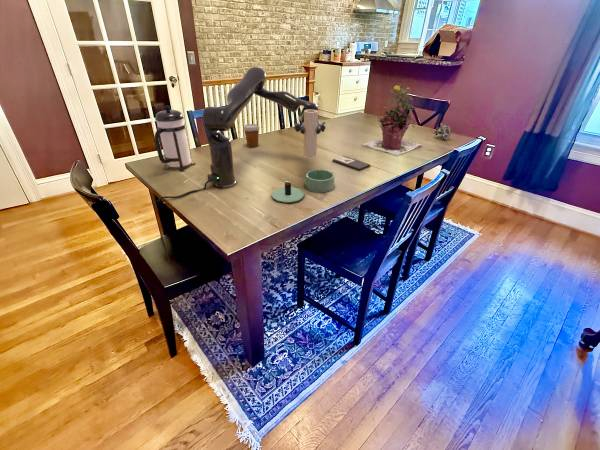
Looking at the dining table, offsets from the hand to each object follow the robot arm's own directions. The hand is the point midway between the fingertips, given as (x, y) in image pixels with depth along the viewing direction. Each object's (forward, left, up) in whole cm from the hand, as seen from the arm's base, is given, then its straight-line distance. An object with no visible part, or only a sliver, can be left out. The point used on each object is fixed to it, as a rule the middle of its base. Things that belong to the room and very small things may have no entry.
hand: (310, 131), depth 123 cm
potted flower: (+80, +2, -25) cm, 84 cm away
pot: (+4, -2, -25) cm, 25 cm away
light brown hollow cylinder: (+2, +2, -10) cm, 11 cm away
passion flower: (+116, -14, -25) cm, 120 cm away
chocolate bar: (+37, +3, -25) cm, 45 cm away
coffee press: (-27, +65, -25) cm, 75 cm away
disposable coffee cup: (+22, +65, -25) cm, 73 cm away
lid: (-13, +1, -24) cm, 27 cm away
